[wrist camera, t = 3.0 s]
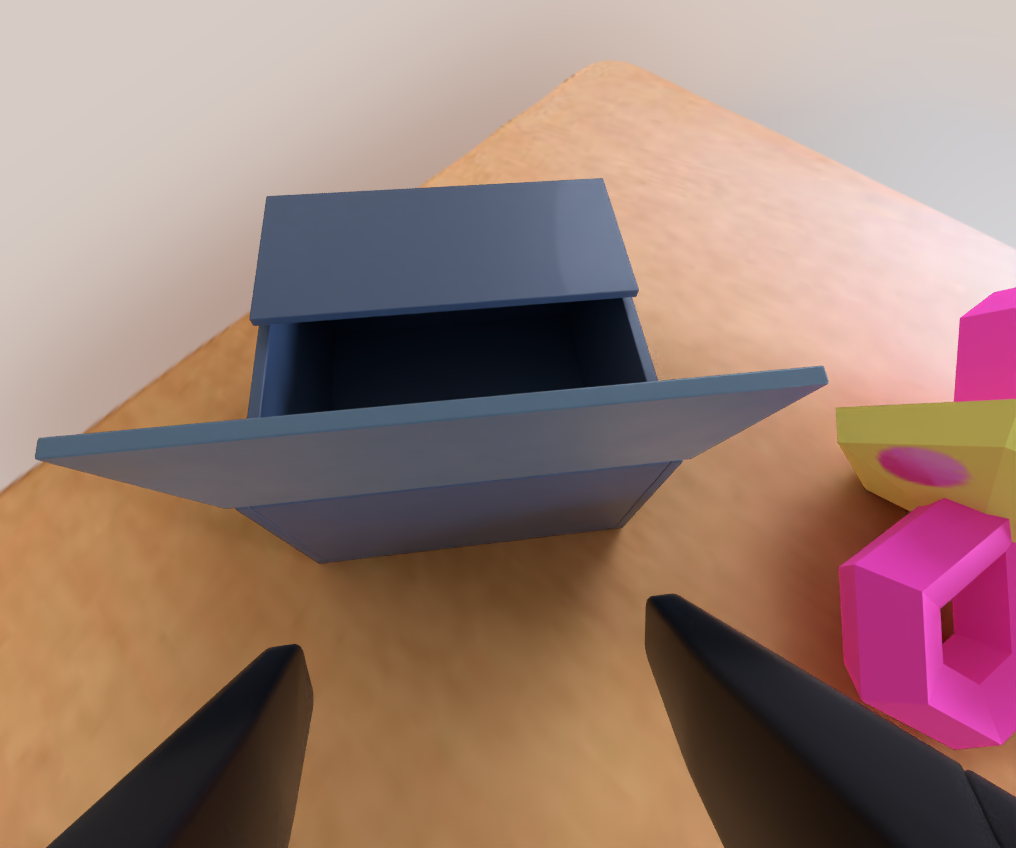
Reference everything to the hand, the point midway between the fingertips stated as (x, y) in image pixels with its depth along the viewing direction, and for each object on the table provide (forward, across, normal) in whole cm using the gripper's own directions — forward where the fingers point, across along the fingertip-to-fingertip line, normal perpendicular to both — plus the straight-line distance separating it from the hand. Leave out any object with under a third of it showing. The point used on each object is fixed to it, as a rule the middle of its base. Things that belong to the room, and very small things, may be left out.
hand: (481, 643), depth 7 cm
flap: (+4, 0, -1) cm, 5 cm away
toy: (+12, -19, +7) cm, 23 cm away
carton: (+16, 0, +2) cm, 17 cm away
